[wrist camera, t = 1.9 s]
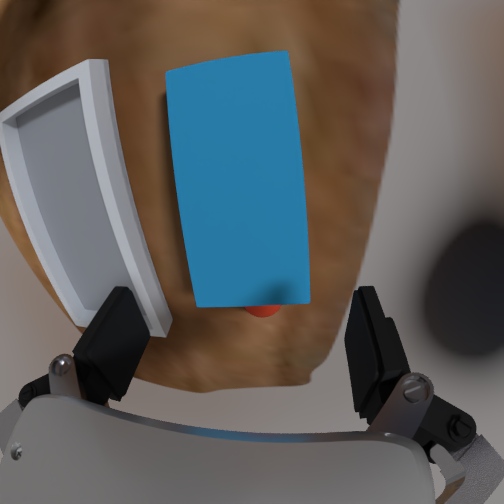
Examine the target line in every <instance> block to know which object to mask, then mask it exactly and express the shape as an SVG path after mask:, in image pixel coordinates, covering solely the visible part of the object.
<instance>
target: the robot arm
mask: <svg viewBox="0 0 504 504" xmlns="http://www.w3.org/2000/svg"><path fill="white" fill-rule="evenodd" d="M149 338H150V331H149V329H148V327H147V324H146V322H145V320H144V318H143V315H142V313H141V311H140V309H139V306H138V304H137V302H136V299H135V297H134V294H133V292H132V291H131V290H130V289H129V288H128V287H126V286H115V287H114V288H113V290H112V291H111V292H110V294H109V295H108V297H107V298H106V300H105V301H104V303H103V304H102V306H101V307H100V309H99V310H98V312H97V313H96V315H95V316H94V318H93V319H92V321H91V322H90V324H89V325H88V327H87V328H86V330H85V332H84V333H83V335H82V336H81V338H80V340H79V341H78V343H77V344H76V346H75V348H74V350H73V351H72V352H73V353H74V356H73V357H72V356H71V355H68V354H61V355H59V356H57V357H56V358H55V359H54V360H53V361H52V362H51V364H50V366H49V373H48V374H46V375H44V376H42V377H40V378H38V379H36V380H34V381H32V382H30V383H28V384H26V385H25V386H24V387H23V388H22V389H21V391H20V393H19V400H17V399H15V400H14V401H13V402H12V403H11V404H10V405H8V406H7V407H6V408H5V409H4V410H3V411H2V412H1V413H0V448H1V451H2V453H3V458H2V461H1V464H0V504H483V503H484V502H485V501H486V500H487V499H488V497H489V496H490V495H491V494H492V492H493V491H494V490H495V489H496V487H497V486H498V485H499V483H500V482H501V481H502V479H503V477H504V460H503V459H502V458H501V456H500V455H499V454H498V453H497V452H496V451H495V449H494V448H493V447H492V446H491V445H490V444H489V442H488V441H487V440H486V439H485V438H484V437H483V436H482V434H481V435H480V436H478V435H477V433H476V423H475V421H474V419H473V418H472V417H471V416H470V415H469V414H467V413H465V412H464V411H462V410H460V409H459V408H457V407H455V406H453V405H452V404H450V403H448V402H446V401H445V400H443V399H441V398H440V397H438V396H436V395H434V386H433V384H432V382H431V380H430V379H429V378H428V377H427V376H425V375H424V374H421V373H417V372H415V373H414V372H412V373H411V371H410V368H409V365H408V361H407V358H406V355H405V352H404V349H403V346H402V343H401V340H400V337H399V334H398V331H397V329H396V326H395V323H394V321H393V319H392V318H391V317H387V318H385V315H384V313H383V310H382V307H381V304H380V301H379V299H378V296H377V293H376V291H375V288H374V286H360V287H359V288H358V290H354V293H353V298H352V303H351V309H350V314H349V318H348V323H347V328H346V332H345V338H344V339H345V340H344V341H345V348H346V354H347V360H348V366H349V373H350V380H351V387H352V394H353V402H354V409H355V412H359V415H360V419H361V418H367V423H368V424H369V425H370V426H369V427H368V429H367V430H366V431H352V432H330V433H303V434H302V433H301V434H280V433H277V434H276V433H251V432H237V431H225V430H216V429H208V428H201V427H194V426H187V425H181V424H176V423H170V422H165V421H160V420H155V419H151V418H146V417H142V416H137V415H133V414H130V413H126V412H122V411H119V410H115V409H112V408H110V407H109V404H108V399H109V398H110V399H112V400H116V401H119V402H120V401H121V398H122V396H124V395H125V394H126V392H127V390H128V387H129V385H130V382H131V380H132V378H133V375H134V373H135V371H136V368H137V366H138V364H139V361H140V359H141V357H142V354H143V352H144V350H145V348H146V345H147V343H148V341H149ZM429 462H430V463H433V464H437V465H438V466H439V467H440V469H441V471H440V472H441V473H442V475H443V476H444V478H445V480H446V486H445V489H444V491H443V493H442V494H441V495H440V496H439V497H438V498H437V499H436V500H435V491H434V483H433V478H432V473H431V469H430V465H429Z"/></svg>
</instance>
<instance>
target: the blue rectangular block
mask: <svg viewBox="0 0 504 504" xmlns="http://www.w3.org/2000/svg"><path fill="white" fill-rule="evenodd" d="M166 90H167V105H168V117H169V129H170V139H171V149H172V158H173V166H174V175H175V183H176V190H177V197H178V204H179V211H180V218H181V224H182V230H183V237H184V242H185V248H186V254H187V260H188V265H189V270H190V276H191V281H192V286H193V291H194V296H195V301H196V305H197V307H239V306H244V308H245V309H246V310H247V311H248V312H249V313H250V314H252V315H254V316H256V317H268V316H271V315H273V314H275V313H276V312H277V311H278V310H279V309H280V307H281V305H287V304H304V303H310V272H309V248H308V229H307V213H306V199H305V186H304V174H303V163H302V153H301V144H300V135H299V126H298V118H297V110H296V102H295V95H294V87H293V81H292V74H291V68H290V61H289V55H288V51H275V52H265V53H256V54H248V55H241V56H234V57H228V58H223V59H217V60H212V61H207V62H202V63H198V64H194V65H189V66H185V67H181V68H178V69H174V70H170V71H167V72H166Z"/></svg>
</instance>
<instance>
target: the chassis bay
mask: <svg viewBox="0 0 504 504" xmlns="http://www.w3.org/2000/svg"><path fill="white" fill-rule="evenodd" d="M0 146H1V150H2V155H3V159H4V163H5V167H6V171H7V175H8V178H9V182H10V185H11V188H12V191H13V195H14V198H15V201H16V204H17V207H18V209H19V212H20V215H21V218H22V220H23V223H24V225H25V228H26V230H27V233H28V235H29V238H30V240H31V242H32V245H33V247H34V249H35V251H36V253H37V256H38V258H39V260H40V262H41V264H42V266H43V268H44V270H45V272H46V274H47V276H48V278H49V280H50V282H51V284H52V286H53V287H54V289H55V291H56V293H57V295H58V296H59V298H60V300H61V302H62V303H63V305H64V307H65V308H66V310H67V312H68V313H69V315H70V317H71V318H72V320H73V321H74V323H75V324H76V326H82V327H88V325H89V324H90V322H91V321H92V319H93V318H94V316H95V315H96V313H97V312H98V310H99V309H100V307H101V306H102V304H103V303H104V301H105V300H106V298H107V297H108V295H109V294H110V292H111V291H112V290H113V288H114V287H115V286H126V287H128V288H129V289H130V290H131V291H132V292H133V294H134V297H135V299H136V302H137V304H138V306H139V309H140V311H141V313H142V315H143V318H144V320H145V322H146V324H147V327H148V329H149V331H150V336H156V337H167V334H168V332H169V329H170V326H171V324H172V321H173V318H172V315H171V313H170V310H169V308H168V305H167V302H166V300H165V297H164V294H163V292H162V289H161V286H160V283H159V280H158V278H157V275H156V272H155V269H154V266H153V263H152V260H151V257H150V254H149V251H148V247H147V244H146V241H145V238H144V234H143V231H142V228H141V224H140V221H139V217H138V214H137V210H136V206H135V203H134V199H133V195H132V191H131V187H130V183H129V179H128V175H127V171H126V166H125V162H124V157H123V152H122V148H121V143H120V138H119V132H118V127H117V121H116V116H115V110H114V103H113V96H112V89H111V82H110V73H109V64H108V60H102V59H88V60H86V61H83V62H81V63H79V64H77V65H75V66H73V67H71V68H69V69H67V70H65V71H64V72H62V73H60V74H58V75H56V76H55V77H53V78H51V79H49V80H48V81H46V82H44V83H43V84H41V85H39V86H38V87H36V88H34V89H33V90H31V91H30V92H28V93H27V94H25V95H24V96H22V97H21V98H19V99H18V100H16V101H15V102H14V103H12V104H11V105H10V106H8V107H7V108H5V109H4V110H3V111H2V112H0Z"/></svg>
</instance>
